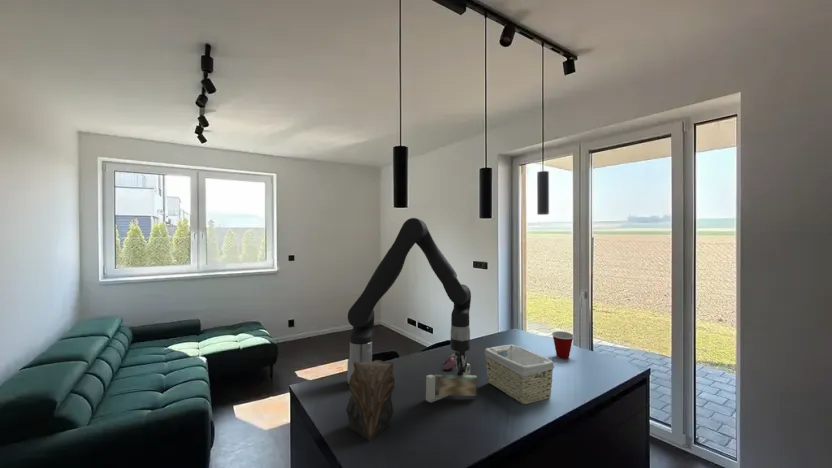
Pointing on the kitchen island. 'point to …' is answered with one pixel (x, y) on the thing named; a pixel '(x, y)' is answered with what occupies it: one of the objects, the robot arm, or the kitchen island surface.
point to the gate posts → (431, 386)
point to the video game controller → (449, 362)
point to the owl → (370, 398)
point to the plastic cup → (562, 343)
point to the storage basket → (520, 373)
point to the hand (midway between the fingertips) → (460, 381)
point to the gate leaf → (455, 385)
